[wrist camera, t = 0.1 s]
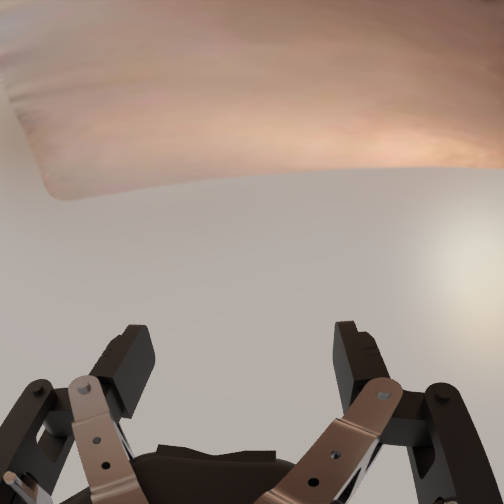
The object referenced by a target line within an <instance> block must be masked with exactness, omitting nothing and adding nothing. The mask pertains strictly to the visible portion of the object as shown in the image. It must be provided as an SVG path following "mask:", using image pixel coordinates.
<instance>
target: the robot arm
mask: <svg viewBox="0 0 504 504" xmlns="http://www.w3.org/2000/svg"><path fill="white" fill-rule="evenodd" d="M154 365H155V352H154V349H153V345H152V342H151V338H150V335H149V331H148V328H147V326H146V325H128V327H127V328H126V329H125V331H124V333H123V334H122V335H118V336H117V337H116V338H114V339H113V340H112V341H110V343H109V344H108V346H107V347H106V350H105V351H104V352H103V353H102V356H101V357H100V358H99V360H98V361H97V363H96V364H95V366H94V367H93V369H92V370H91V372H90V374H89V375H85V376H81V377H78V378H76V379H75V380H73V381H72V382H71V383H70V385H69V387H68V388H58V389H54V388H53V386H52V384H51V383H50V382H49V381H48V380H45V379H39V380H36V381H33V382H31V383H30V384H29V385H28V386H27V387H26V388H25V390H24V391H23V393H22V394H21V396H20V397H19V399H18V400H17V402H16V403H15V405H14V407H13V408H12V409H11V411H10V413H9V414H8V416H7V417H6V419H5V420H4V422H3V424H2V425H1V427H0V504H53V501H52V498H51V495H52V492H53V490H54V487H55V485H56V482H57V480H58V478H59V475H60V473H61V470H62V468H63V466H64V463H65V461H66V458H67V456H68V454H69V452H70V449H71V447H72V445H73V442H74V440H75V441H76V444H77V448H78V452H79V455H80V459H81V462H82V465H83V468H84V471H85V475H86V478H87V481H88V484H89V487H87V488H85V489H84V490H82V491H80V492H79V493H77V494H76V495H74V496H72V497H71V498H69V499H67V500H65V501H63V502H62V503H60V504H347V503H348V502H349V500H350V499H351V498H352V496H353V495H354V493H355V492H356V490H357V488H358V486H359V485H360V483H361V481H362V480H363V478H364V476H365V475H366V473H367V472H368V470H369V469H370V467H371V465H372V463H373V462H374V461H375V459H376V457H377V456H378V454H379V452H380V451H381V449H382V447H383V445H384V444H388V445H398V446H406V447H407V451H408V455H409V460H410V464H411V469H412V473H413V478H414V482H415V488H416V492H417V498H418V502H419V504H503V501H502V498H501V495H500V492H499V489H498V486H497V483H496V480H495V477H494V474H493V472H492V469H491V466H490V463H489V461H488V458H487V456H486V453H485V450H484V448H483V445H482V443H481V440H480V438H479V436H478V433H477V431H476V428H475V427H474V424H473V422H472V419H471V417H470V415H469V412H468V410H467V408H466V406H465V404H464V401H463V399H462V397H461V395H460V393H459V391H458V390H457V389H456V388H455V387H454V386H452V385H450V384H447V383H435V384H432V385H430V386H429V387H428V388H427V389H426V391H425V393H421V392H411V391H406V390H403V389H402V387H401V385H400V384H399V383H398V382H396V381H395V380H393V379H391V378H390V376H389V373H388V371H387V368H386V366H385V364H384V361H383V358H382V356H381V355H380V352H379V349H378V347H377V344H376V342H375V339H374V338H373V337H372V336H371V335H370V334H369V333H367V332H358V331H357V328H356V325H355V323H354V321H344V322H343V321H342V322H336V323H335V332H334V344H333V365H334V370H335V375H336V379H337V384H338V388H339V393H340V398H341V403H342V408H343V413H344V416H343V417H342V418H341V419H337V418H336V419H335V420H334V421H333V422H332V423H331V424H330V425H329V426H328V428H327V429H326V430H325V432H324V433H323V434H322V435H321V436H320V437H319V439H318V440H317V441H316V442H315V443H314V445H313V446H312V447H311V448H310V449H309V451H307V453H306V454H305V455H304V456H303V457H302V458H301V459H300V461H299V462H298V463H297V464H293V463H291V462H288V461H285V460H281V459H276V451H241V452H235V453H230V454H223V455H209V454H205V453H202V452H199V451H195V450H192V449H189V448H186V447H177V446H168V445H158V448H157V451H156V452H153V453H147V454H143V455H140V456H138V457H135V456H134V454H133V452H132V450H131V448H130V446H129V443H128V441H127V439H126V437H125V434H124V432H123V430H122V427H121V425H120V423H119V421H120V419H121V417H123V418H129V419H131V418H132V416H133V413H134V411H135V409H136V406H137V404H138V402H139V399H140V397H141V394H142V392H143V390H144V387H145V386H146V383H147V381H148V379H149V377H150V374H151V372H152V370H153V368H154ZM42 424H43V425H44V426H45V430H44V432H43V434H42V436H41V438H40V440H39V442H38V444H37V441H36V436H37V433H38V431H39V429H40V427H41V426H42Z"/></svg>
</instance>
